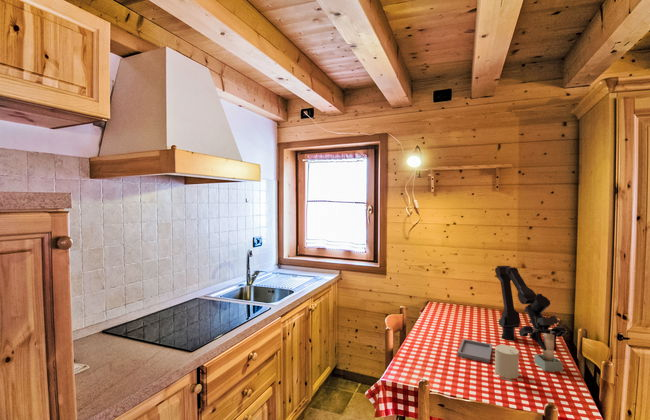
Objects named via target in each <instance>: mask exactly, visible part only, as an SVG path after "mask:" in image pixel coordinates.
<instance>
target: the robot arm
mask: <svg viewBox="0 0 650 420" xmlns="http://www.w3.org/2000/svg"><path fill="white" fill-rule="evenodd" d="M494 272H495V276H496V278H497V279H498V281H499V282H500V287H501V297H502V303H503V310H502V312H501V317H500V318H499V320H498V325H499V326H500V327H501V328H502V333H501V339H503V340H509V341H516V335H515V329H519V328H520V325H521V319H520V312H519V311H517V310H516V309H515V304H514V296H513V291H512V284H513V286H514V287H515V289H516V290H517V299H518V301H519V302H520V304H521V305H526V306H525V308H524V310H523V312H525V313H526V314H527V315H528V317H529V318H528V319H529V321H528V322H529V324H531V325H532V326H531V325H523V326H522V327H521V328H520V329H519V331H518V333H519V336H520V337H529V339H532V340H533V341H534V342H535V343H536V344H537V345H538V346H539V347H540V348H541V349H542V351H543V350H544V351H546V347H545V344H544V342H543V338H542V334H544V333H550V334H553V335H554V352H556V351H557V338H562V337H563V336H564V335H566V334H567V333H568V331H567V329H566V327H564V326H557V325H555V324H558V323H559V322H558V318H557V316H556V315H551V316H549V317H546V316H545V315H543V312H544V311H546V310H547V309H548V308H549V307H550V306H551V300H550V299H548V297H546V296H544V295H543V294H542V293H535V291H534V290H533V289H531V288H530V287H528V286H527V284H526V283H525V281H524V279H523V278H522V276H521V274H520V272H519V268H517V267H514V266H513V267H512V266H510V265H497V266H496V267H495V269H494ZM511 282H512V284H511ZM552 326H554V327H553V328H552Z"/></svg>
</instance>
